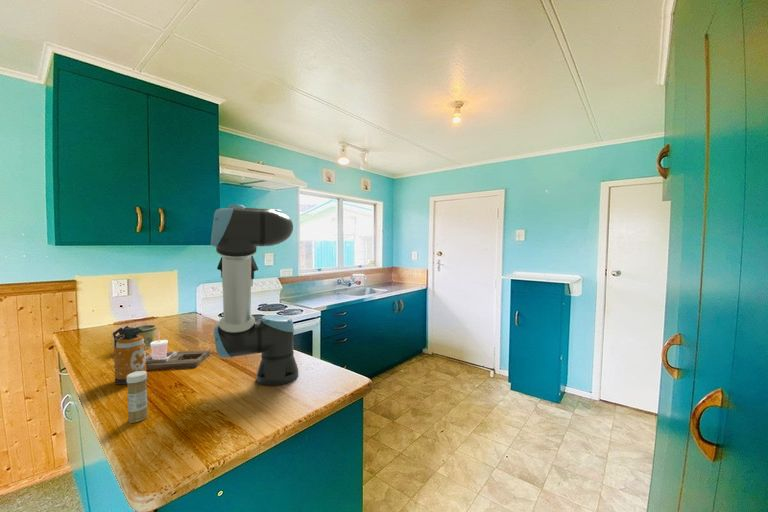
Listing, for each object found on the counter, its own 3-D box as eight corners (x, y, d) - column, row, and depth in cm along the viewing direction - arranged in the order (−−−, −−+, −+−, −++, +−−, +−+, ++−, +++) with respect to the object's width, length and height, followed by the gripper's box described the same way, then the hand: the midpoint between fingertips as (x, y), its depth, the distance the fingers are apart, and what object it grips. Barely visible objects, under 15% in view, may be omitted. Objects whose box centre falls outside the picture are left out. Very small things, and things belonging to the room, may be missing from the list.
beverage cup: (171, 361, 131) (170, 329, 131) (154, 366, 126) (154, 333, 126) (163, 359, 135) (163, 327, 134) (147, 363, 129) (147, 330, 129)
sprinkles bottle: (146, 413, 92) (145, 368, 91) (149, 419, 89) (148, 373, 88) (126, 419, 88) (125, 373, 88) (128, 425, 85) (127, 378, 85)
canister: (128, 387, 108) (127, 331, 107) (103, 383, 110) (102, 329, 110) (152, 376, 117) (151, 324, 116) (129, 373, 119) (127, 322, 118)
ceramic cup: (152, 349, 146) (152, 329, 146) (126, 352, 142) (126, 331, 142) (161, 341, 158) (160, 322, 158) (137, 344, 154) (137, 324, 154)
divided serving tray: (196, 367, 126) (196, 360, 126) (133, 370, 122) (133, 363, 122) (210, 354, 141) (210, 347, 141) (154, 357, 137) (154, 350, 137)
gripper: (266, 239, 139) (266, 285, 140) (220, 239, 146) (221, 283, 147) (255, 239, 132) (255, 288, 133) (207, 239, 139) (208, 285, 139)
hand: (237, 285), depth 140 cm, fingers open, 13 cm apart
